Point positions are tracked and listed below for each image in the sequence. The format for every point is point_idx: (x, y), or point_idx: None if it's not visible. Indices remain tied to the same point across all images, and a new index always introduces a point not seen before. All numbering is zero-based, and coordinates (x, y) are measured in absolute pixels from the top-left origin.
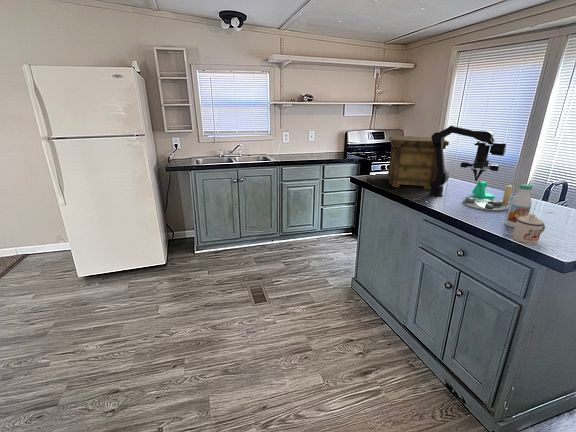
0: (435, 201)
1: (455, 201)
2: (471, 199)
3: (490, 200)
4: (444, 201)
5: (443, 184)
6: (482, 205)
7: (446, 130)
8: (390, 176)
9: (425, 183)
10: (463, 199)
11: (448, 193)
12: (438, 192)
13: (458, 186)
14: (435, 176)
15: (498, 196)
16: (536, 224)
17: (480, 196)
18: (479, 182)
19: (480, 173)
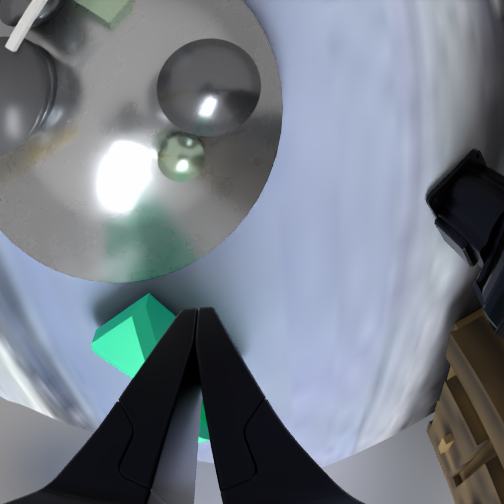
0: (458, 12)
1: (334, 85)
2: (193, 41)
3: (23, 104)
4: (411, 38)
5: (475, 289)
6: (89, 31)
7: None
8: None
9: None
10: (277, 133)
11: (381, 304)
12: (476, 184)
13: (315, 435)
14: (494, 377)
15: (116, 397)
16: None
17: (169, 317)
18: (206, 432)
19: (90, 467)
